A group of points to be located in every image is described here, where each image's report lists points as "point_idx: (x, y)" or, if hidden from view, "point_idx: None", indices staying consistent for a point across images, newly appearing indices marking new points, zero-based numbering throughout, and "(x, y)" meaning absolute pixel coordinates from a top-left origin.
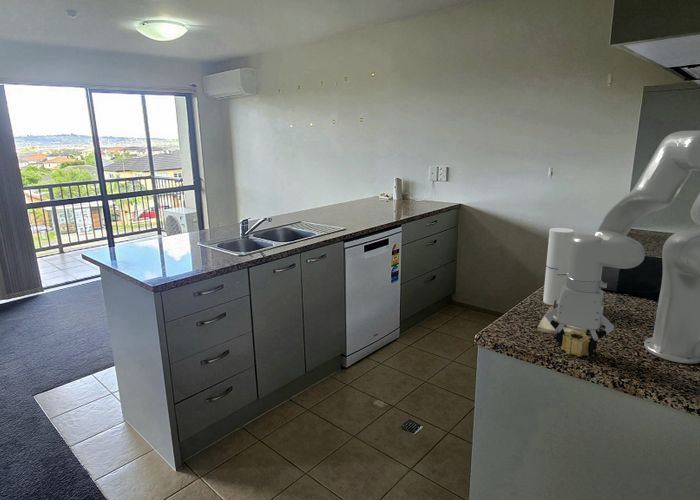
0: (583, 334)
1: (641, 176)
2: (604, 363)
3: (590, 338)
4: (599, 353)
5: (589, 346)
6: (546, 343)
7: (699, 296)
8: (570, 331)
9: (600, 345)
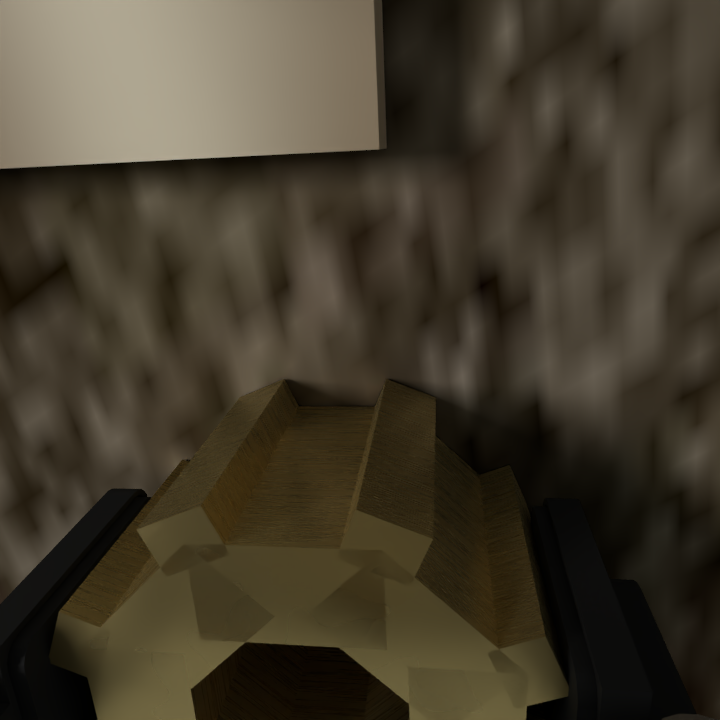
0: (396, 602)
1: None
2: (717, 709)
3: (549, 690)
4: (658, 480)
5: (537, 710)
6: (2, 522)
7: None
8: (103, 31)
9: (675, 175)
